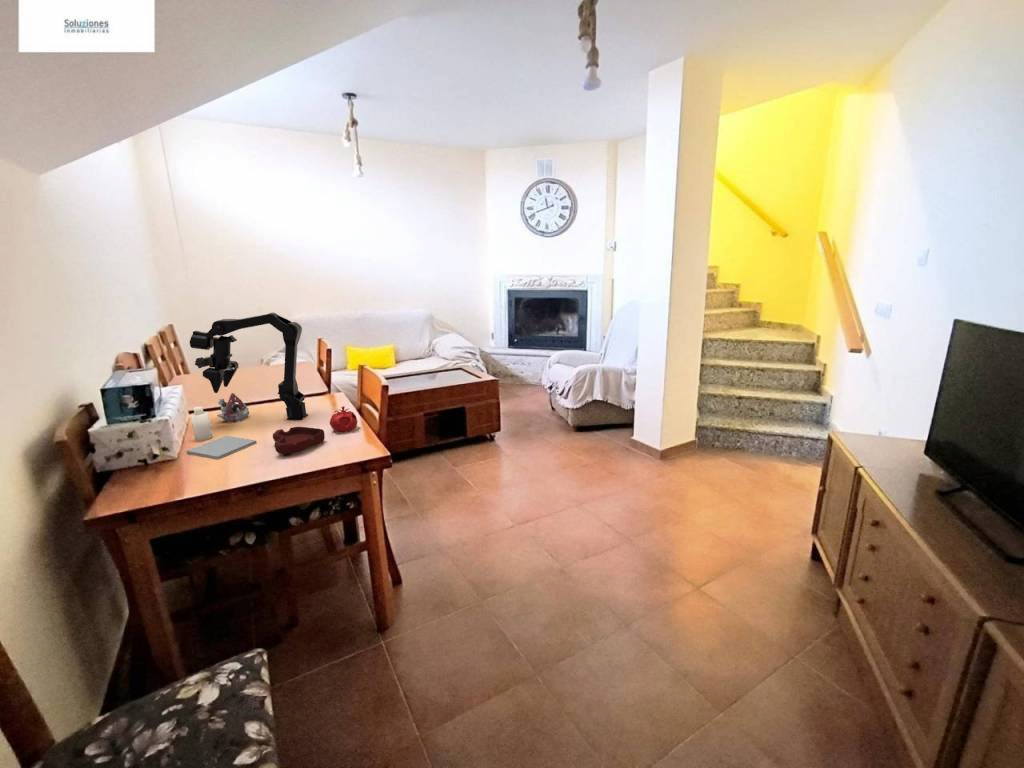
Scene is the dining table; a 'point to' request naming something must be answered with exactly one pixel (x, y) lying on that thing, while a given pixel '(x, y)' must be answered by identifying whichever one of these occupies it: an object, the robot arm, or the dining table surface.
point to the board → (221, 447)
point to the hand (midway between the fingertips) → (220, 389)
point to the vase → (201, 424)
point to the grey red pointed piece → (233, 409)
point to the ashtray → (297, 439)
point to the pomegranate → (343, 421)
